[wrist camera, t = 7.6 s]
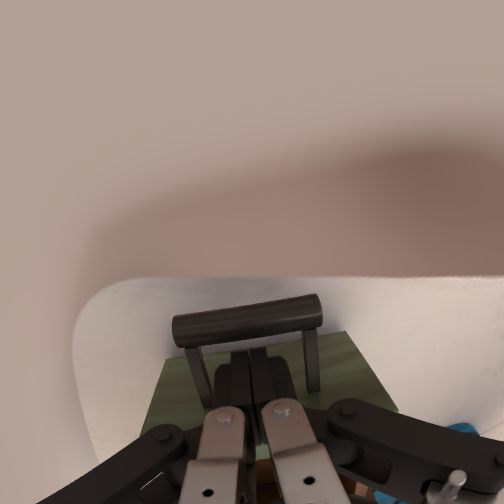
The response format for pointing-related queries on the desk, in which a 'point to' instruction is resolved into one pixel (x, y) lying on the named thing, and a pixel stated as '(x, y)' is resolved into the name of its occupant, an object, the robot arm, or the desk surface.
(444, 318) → the desk surface
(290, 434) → the robot arm
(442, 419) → the desk surface
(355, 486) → the drawer
